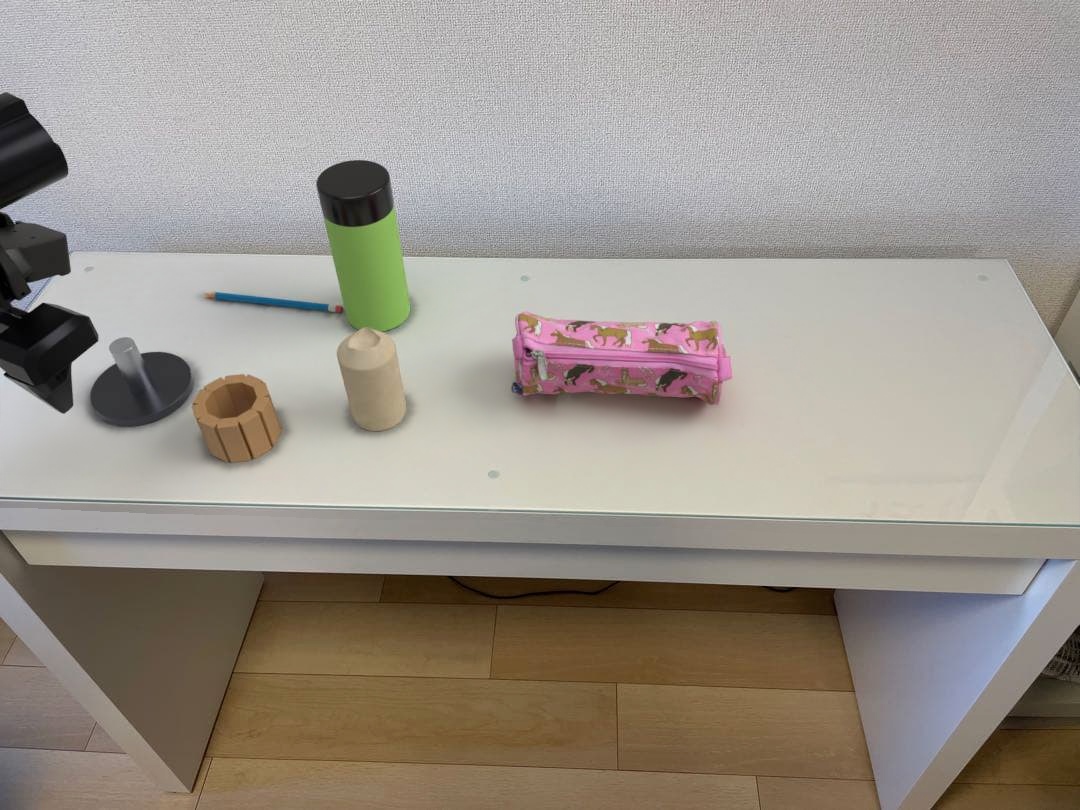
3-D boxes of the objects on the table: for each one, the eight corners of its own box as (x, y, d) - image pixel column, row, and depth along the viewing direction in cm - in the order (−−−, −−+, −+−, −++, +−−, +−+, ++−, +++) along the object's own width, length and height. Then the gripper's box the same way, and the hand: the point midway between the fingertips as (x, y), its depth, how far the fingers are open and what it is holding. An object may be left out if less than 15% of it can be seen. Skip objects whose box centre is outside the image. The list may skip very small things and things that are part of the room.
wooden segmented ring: (216, 472, 81) (200, 437, 78) (201, 422, 86) (186, 387, 82) (288, 447, 83) (276, 412, 80) (270, 400, 88) (258, 365, 84)
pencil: (341, 313, 97) (340, 309, 97) (201, 298, 99) (199, 293, 99) (343, 309, 98) (342, 304, 97) (204, 294, 100) (202, 289, 99)
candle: (359, 390, 89) (342, 317, 81) (411, 394, 88) (398, 320, 81) (346, 430, 85) (326, 356, 78) (400, 433, 84) (386, 359, 77)
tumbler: (333, 311, 98) (299, 177, 85) (387, 282, 101) (361, 149, 88) (371, 342, 94) (341, 207, 81) (425, 311, 97) (404, 177, 85)
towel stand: (99, 439, 84) (73, 393, 80) (88, 376, 91) (63, 330, 86) (202, 406, 87) (182, 360, 83) (184, 347, 94) (164, 301, 89)
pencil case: (509, 416, 86) (505, 351, 79) (519, 353, 92) (516, 289, 86) (724, 428, 84) (738, 363, 78) (719, 363, 91) (731, 298, 84)
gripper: (111, 211, 63) (179, 365, 74) (-62, 157, 69) (25, 307, 80) (-15, 299, 56) (80, 454, 67) (-196, 230, 62) (-80, 383, 73)
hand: (27, 392), depth 72 cm, fingers open, 9 cm apart
